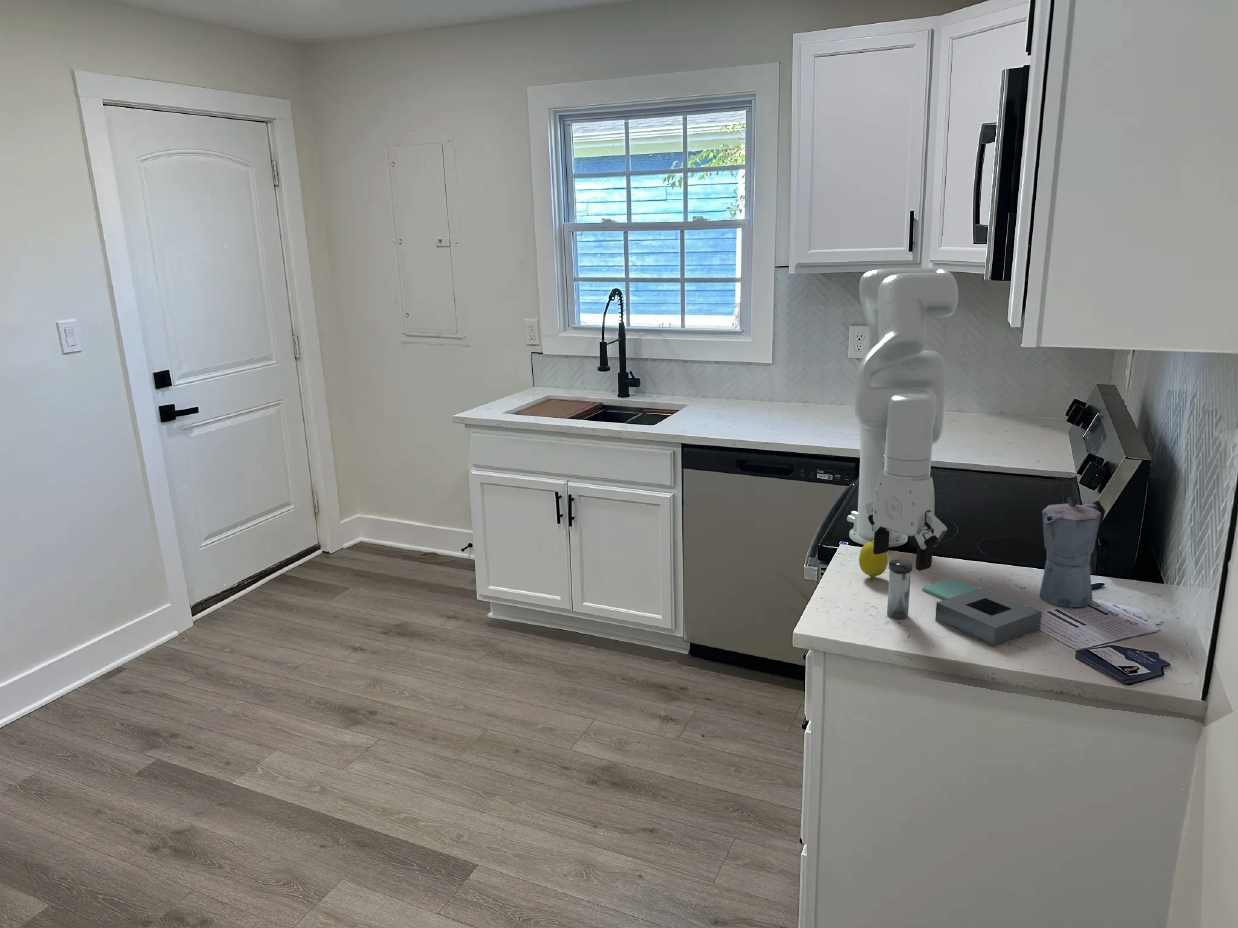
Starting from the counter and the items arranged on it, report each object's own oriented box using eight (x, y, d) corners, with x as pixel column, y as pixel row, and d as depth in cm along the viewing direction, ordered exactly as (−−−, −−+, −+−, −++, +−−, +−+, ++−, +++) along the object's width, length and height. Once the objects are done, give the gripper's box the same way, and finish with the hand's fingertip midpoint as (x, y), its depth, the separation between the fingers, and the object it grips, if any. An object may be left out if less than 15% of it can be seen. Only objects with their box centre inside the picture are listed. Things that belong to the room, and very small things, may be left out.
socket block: (935, 620, 149) (936, 602, 149) (980, 605, 155) (982, 587, 154) (993, 647, 139) (995, 627, 138) (1040, 630, 145) (1042, 611, 144)
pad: (922, 590, 162) (922, 587, 162) (954, 580, 167) (954, 577, 166) (960, 606, 155) (961, 603, 155) (993, 596, 159) (993, 593, 159)
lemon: (881, 572, 172) (883, 535, 170) (890, 582, 166) (893, 544, 164) (854, 573, 171) (856, 536, 169) (862, 583, 166) (865, 545, 164)
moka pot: (1016, 598, 158) (1026, 496, 153) (1067, 581, 165) (1078, 483, 160) (1063, 616, 150) (1076, 509, 145) (1115, 597, 157) (1129, 495, 152)
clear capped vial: (881, 613, 153) (884, 562, 150) (896, 609, 154) (900, 557, 152) (897, 622, 149) (901, 569, 147) (913, 616, 151) (917, 564, 149)
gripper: (854, 459, 150) (850, 550, 154) (932, 479, 135) (925, 579, 139) (885, 454, 154) (880, 543, 158) (964, 473, 139) (956, 571, 143)
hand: (901, 560), depth 149 cm, fingers open, 9 cm apart
